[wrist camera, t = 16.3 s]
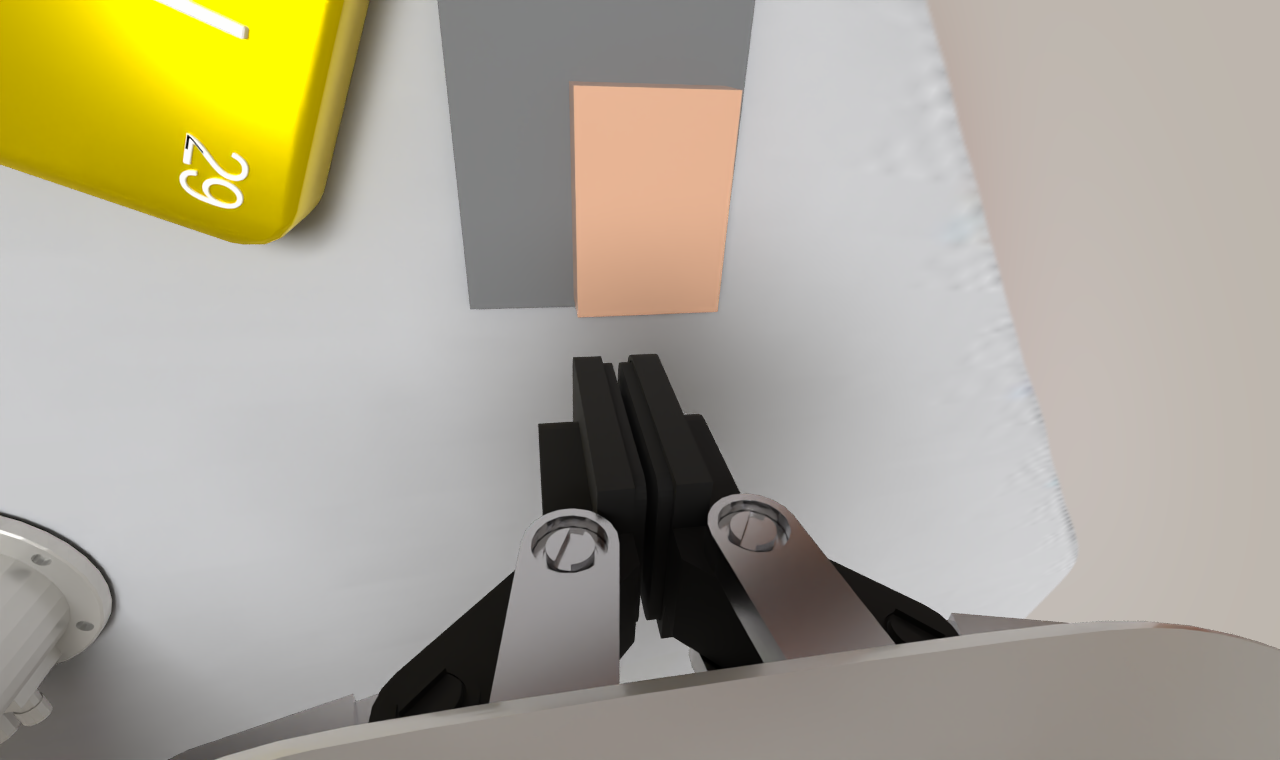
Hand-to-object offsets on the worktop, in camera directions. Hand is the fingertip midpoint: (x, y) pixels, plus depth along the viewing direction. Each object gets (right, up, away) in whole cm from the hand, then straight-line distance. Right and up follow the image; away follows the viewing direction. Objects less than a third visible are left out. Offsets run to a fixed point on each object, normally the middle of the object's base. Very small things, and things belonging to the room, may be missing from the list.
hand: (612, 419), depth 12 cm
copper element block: (-18, +16, +10) cm, 26 cm away
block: (-2, +9, +15) cm, 17 cm away
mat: (-1, +12, +15) cm, 19 cm away
